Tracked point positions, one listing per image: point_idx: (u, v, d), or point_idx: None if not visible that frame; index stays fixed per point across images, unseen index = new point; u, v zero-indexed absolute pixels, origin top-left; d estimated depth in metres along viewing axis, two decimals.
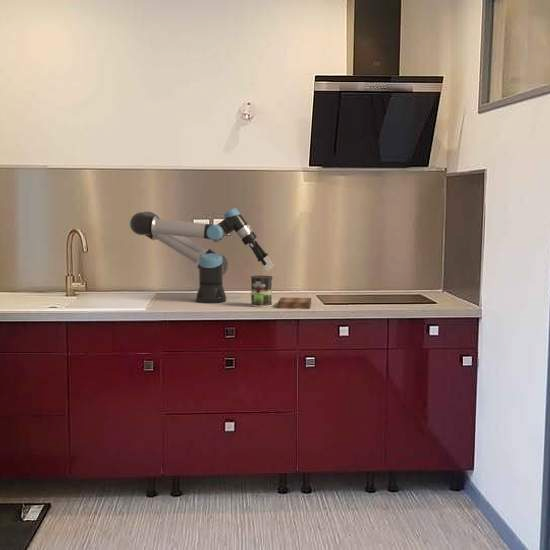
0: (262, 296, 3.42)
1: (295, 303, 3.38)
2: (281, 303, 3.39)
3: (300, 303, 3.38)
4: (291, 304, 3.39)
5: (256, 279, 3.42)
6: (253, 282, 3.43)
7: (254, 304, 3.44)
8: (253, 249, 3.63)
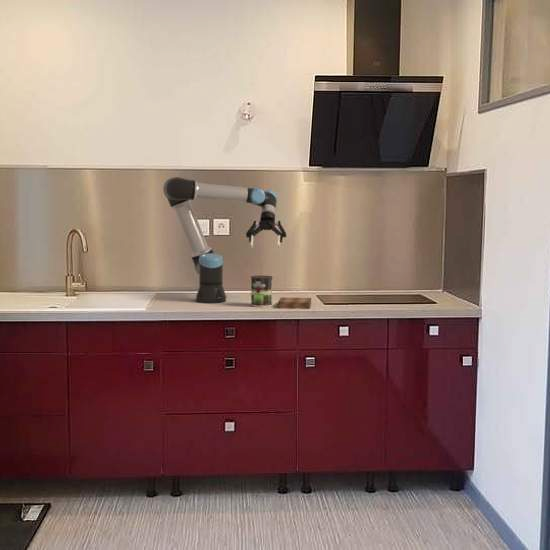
0: (262, 296, 3.42)
1: (295, 303, 3.38)
2: (281, 303, 3.39)
3: (300, 303, 3.38)
4: (291, 304, 3.39)
5: (256, 279, 3.42)
6: (253, 282, 3.43)
7: (254, 304, 3.44)
8: None
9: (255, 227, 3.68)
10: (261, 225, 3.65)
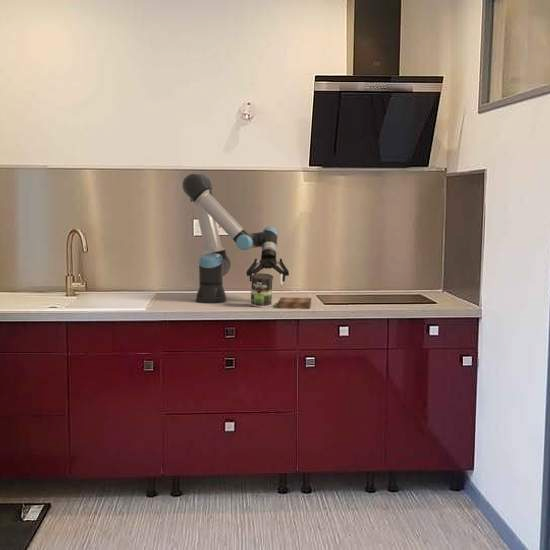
0: (263, 297, 3.41)
1: (295, 303, 3.38)
2: (281, 303, 3.39)
3: (300, 303, 3.38)
4: (291, 304, 3.39)
5: (257, 280, 3.39)
6: (254, 282, 3.41)
7: (254, 304, 3.43)
8: None
9: (256, 265, 3.58)
10: (262, 263, 3.55)
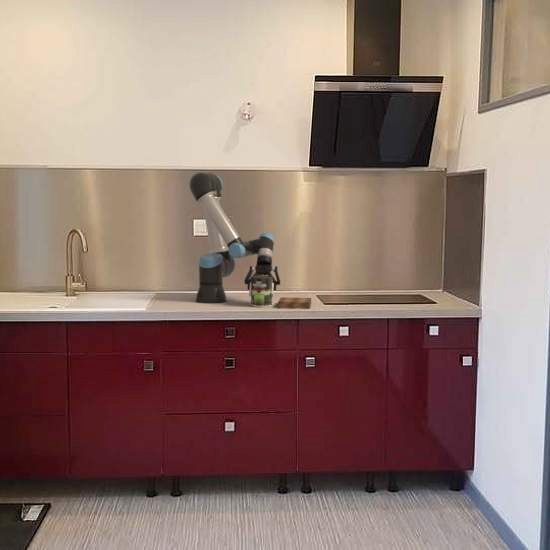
0: (263, 296, 3.42)
1: (295, 303, 3.38)
2: (281, 303, 3.39)
3: (300, 303, 3.38)
4: (291, 304, 3.39)
5: (257, 279, 3.41)
6: (254, 282, 3.43)
7: (255, 304, 3.43)
8: (277, 272, 3.52)
9: None
10: (258, 270, 3.51)
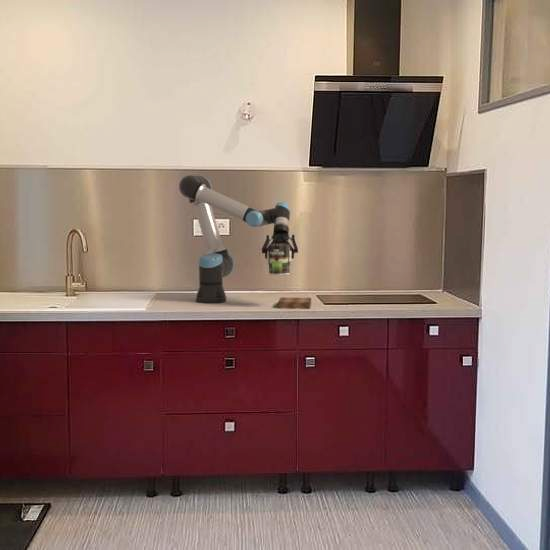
0: (281, 264, 3.39)
1: (295, 303, 3.38)
2: (281, 303, 3.39)
3: (300, 303, 3.38)
4: (291, 304, 3.39)
5: (274, 247, 3.39)
6: (271, 250, 3.40)
7: (273, 272, 3.41)
8: (294, 241, 3.49)
9: None
10: (275, 239, 3.49)
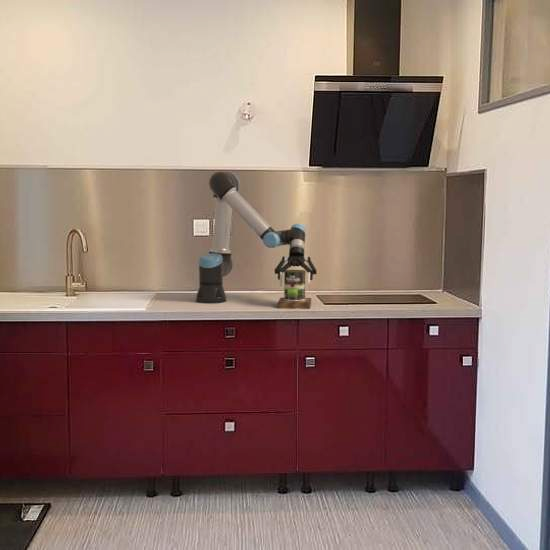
0: (296, 290, 3.40)
1: (295, 303, 3.38)
2: (281, 303, 3.39)
3: (300, 303, 3.38)
4: (291, 304, 3.39)
5: (290, 273, 3.40)
6: (287, 276, 3.41)
7: (288, 298, 3.42)
8: None
9: None
10: (290, 261, 3.50)
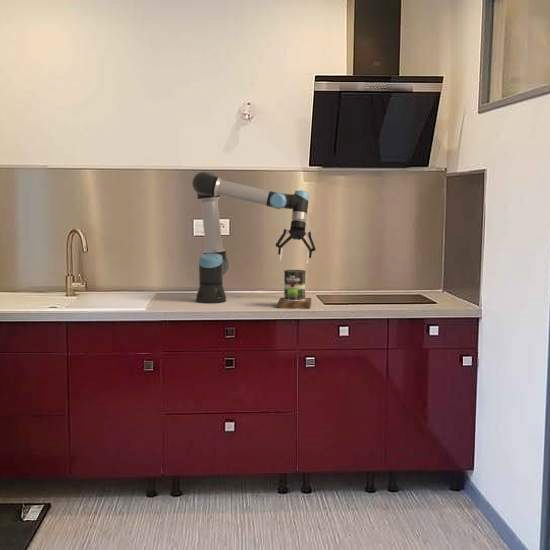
0: (296, 290, 3.40)
1: (295, 303, 3.38)
2: (281, 303, 3.39)
3: (300, 303, 3.38)
4: (291, 304, 3.39)
5: (290, 273, 3.40)
6: (287, 276, 3.41)
7: (288, 298, 3.42)
8: (311, 238, 3.62)
9: None
10: (291, 236, 3.61)
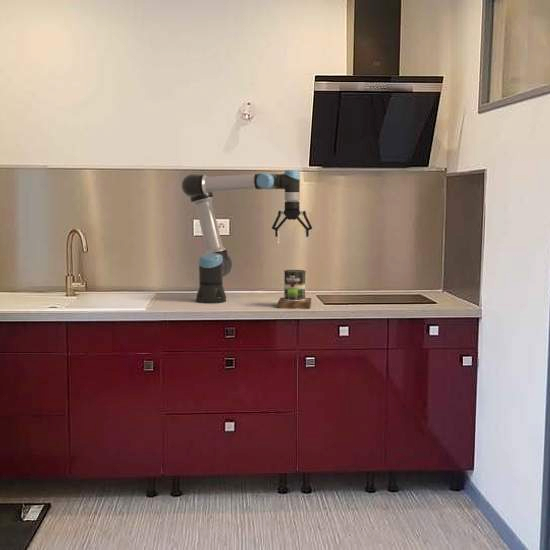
0: (296, 290, 3.40)
1: (295, 303, 3.38)
2: (281, 303, 3.39)
3: (300, 303, 3.38)
4: (291, 304, 3.39)
5: (290, 273, 3.40)
6: (287, 276, 3.41)
7: (288, 298, 3.42)
8: (306, 217, 3.61)
9: None
10: (286, 218, 3.60)
